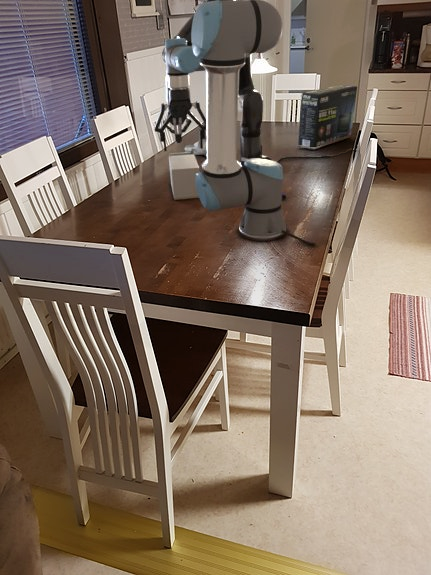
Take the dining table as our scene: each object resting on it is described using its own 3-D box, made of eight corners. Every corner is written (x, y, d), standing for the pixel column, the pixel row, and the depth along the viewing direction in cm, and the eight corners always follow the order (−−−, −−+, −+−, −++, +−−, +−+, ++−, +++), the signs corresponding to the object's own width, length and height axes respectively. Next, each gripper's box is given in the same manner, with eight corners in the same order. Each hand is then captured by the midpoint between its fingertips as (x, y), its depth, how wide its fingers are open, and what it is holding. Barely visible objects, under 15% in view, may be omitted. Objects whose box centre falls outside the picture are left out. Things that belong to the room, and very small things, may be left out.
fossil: (208, 150, 224) (188, 131, 227) (198, 168, 231) (178, 149, 234) (228, 148, 238) (208, 130, 241) (217, 165, 244) (198, 147, 248)
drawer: (170, 171, 207) (168, 149, 202) (190, 170, 208) (189, 148, 203) (173, 189, 186) (171, 165, 181) (196, 187, 187) (195, 163, 182)
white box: (171, 184, 195) (168, 156, 189) (195, 182, 196) (193, 154, 190) (174, 199, 179) (171, 169, 173) (200, 197, 180) (199, 167, 174)
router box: (314, 151, 231) (318, 94, 217) (296, 148, 237) (299, 92, 224) (352, 138, 251) (358, 85, 238) (335, 135, 258) (340, 83, 245)
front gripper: (212, 84, 166) (214, 144, 177) (143, 88, 163) (150, 149, 174) (215, 87, 159) (217, 149, 170) (143, 91, 157) (150, 154, 168)
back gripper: (190, 97, 193) (193, 139, 202) (159, 99, 191) (163, 141, 200) (192, 100, 186) (194, 143, 195) (159, 102, 185) (163, 145, 194)
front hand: (183, 149), depth 172 cm, fingers open, 13 cm apart
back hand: (178, 142), depth 198 cm, fingers closed
